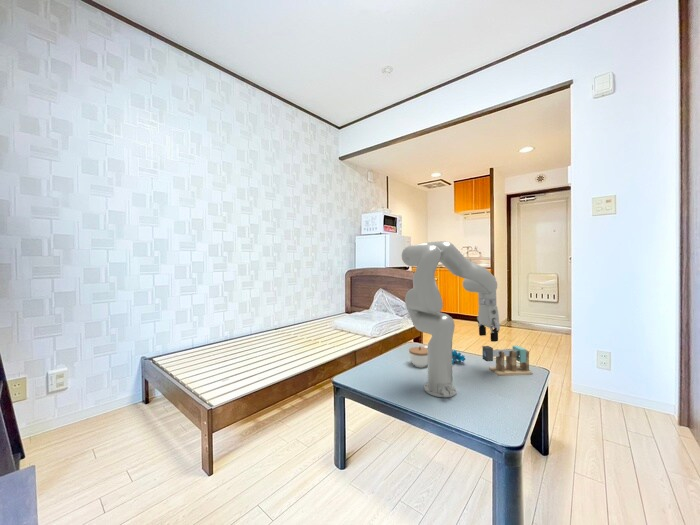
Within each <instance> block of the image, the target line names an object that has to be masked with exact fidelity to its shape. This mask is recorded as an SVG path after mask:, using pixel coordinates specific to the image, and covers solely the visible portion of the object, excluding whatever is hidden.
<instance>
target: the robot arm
mask: <svg viewBox="0 0 700 525" xmlns="http://www.w3.org/2000/svg"><path fill="white" fill-rule="evenodd" d="M401 260H402V262H403V264H405V265H406V266H409V267H415V271H414V273H413V276H412V285H413V288H410V289H409V290H408V291H407V292H406V294H405V298H404V303H405V307H406V310H407V313H408V316H409V317H410V321H411V322H412V324H413V327H414V328H415V329H416V330H417V331H418V332H421V333H424V334H428V335H431V338H430V339H429V341H428V342H427V347H426V348H427V350H428V365H427V382H426V383H424V385H423V389H424V391H425V393H427V394H428V395H430V396H433V397H437V398H451V397H454V396H456V395H457V392H458V391H457V387H456V386H454V385H453V364H452V360H453V359H452V350H453V337H454V332H455V320H454V319H453V317H452V316H450V315H449V314H447V313H444V312H441V311H442V310H443V307H444V304H443V298H442V296H441V293H440V290H439V287H438V285H437V281H436V278H435V277H436V276H435V274H436V270H437V267H438V266H439V263H441V265H443V266H444V267H445V268H446V269H447V270H448V271H449V272H450V273H451V274H452V275H454V276H456V277H459V278H462V279H463V281H462V287H463V289H464V290H465V291H467V292H470V293H477V296H478V315H477V316H476V319H477V323H478V335H479V336H480V337H481V336H482V337H483V336H486V335H487V328H488V329H490V342H491V343H492V342H494V343H495V342H496V343H497V342H499V334H500V332H499V331H500V328H501V324H500V315H499V310H498V306H497V290H498V282H497V277H496V276H495V275H493V274H492V273H491V271H489V270H488V268H485V267H483V266H481V265H479V264H477V263H475V262H473V261H470V260H468V259H467V258H466V257H465V256H464V255H463V254H462V252H461V251H460V250H459V249H458V248H457V247H456V245H454V244H453V243H452V242H451V241H447V240H443V241H442V240H440V241H438V240H437V241H430V242H423V243H419V244H412V245H408V246H406V247H404V249H403V250H402V252H401Z"/></svg>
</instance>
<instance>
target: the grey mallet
mask: <svg viewBox="0 0 700 525" xmlns="http://www.w3.org/2000/svg"><path fill="white" fill-rule="evenodd" d="M513 351H515V352H516V356H519V357H520V351H518V350H516V349H513V348H505V349H504V348H503V349H499V350H496V349H494V348H493V347H492V346H490V345H482V360H484V361H485V362H494V358H496V357H501V352H504V357H506V356H511V352H513ZM526 351H528V350H527V349H526Z"/></svg>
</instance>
